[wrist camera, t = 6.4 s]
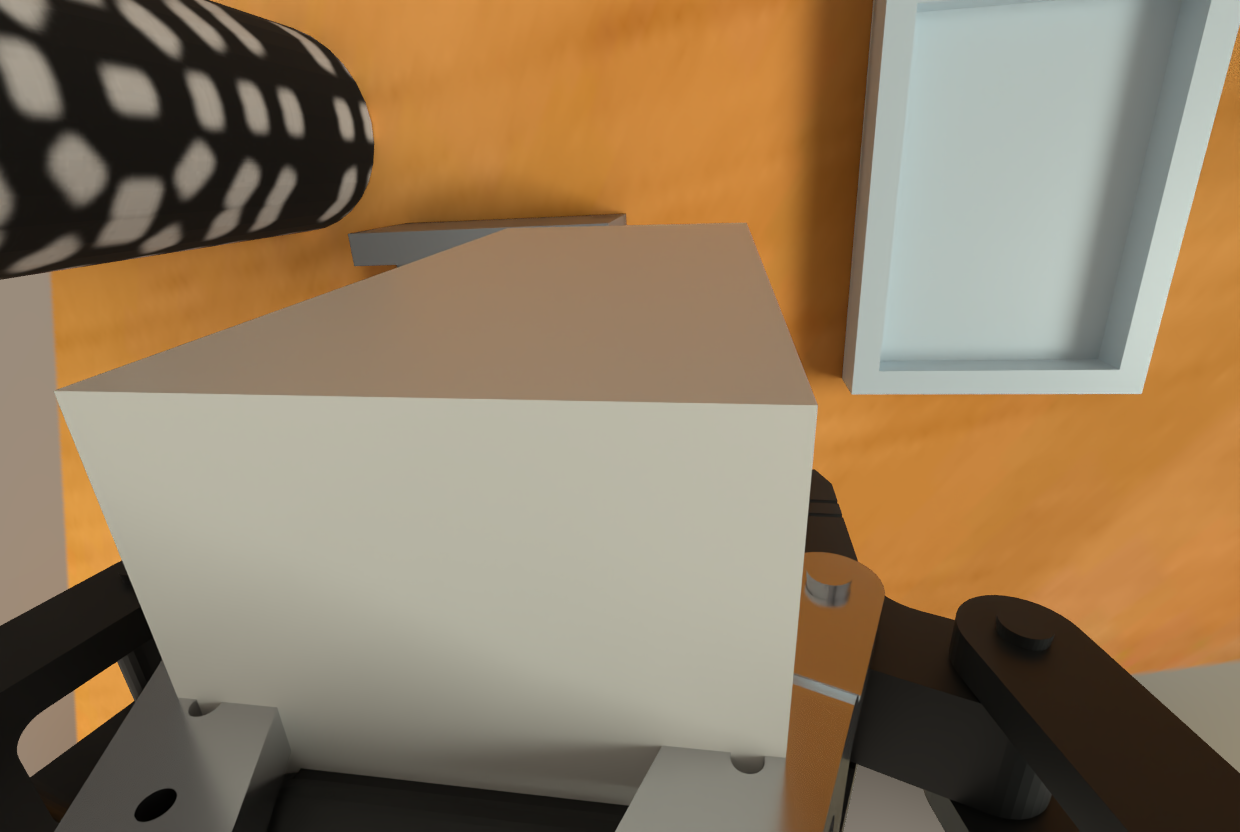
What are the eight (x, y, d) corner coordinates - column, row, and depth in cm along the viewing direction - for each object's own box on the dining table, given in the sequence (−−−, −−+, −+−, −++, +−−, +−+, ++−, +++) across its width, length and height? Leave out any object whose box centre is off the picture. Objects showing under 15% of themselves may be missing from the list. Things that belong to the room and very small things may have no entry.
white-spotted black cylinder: (230, 237, 30) (-548, 351, 11) (170, 37, 27) (-1010, -246, 8) (392, 223, 29) (-188, 325, 10) (348, 11, 26) (-588, -393, 7)
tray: (874, -13, 23) (889, -29, 21) (1213, -43, 21) (1263, -65, 19) (842, 378, 28) (851, 394, 26) (1110, 377, 27) (1141, 393, 25)
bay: (406, 223, 28) (348, 234, 24) (626, 213, 27) (608, 223, 22) (451, 497, 33) (410, 549, 29) (638, 501, 32) (626, 557, 27)
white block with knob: (507, 228, 13) (-127, 455, 3) (746, 222, 13) (854, 493, 3) (542, 576, 17) (281, 1205, 7) (732, 588, 16) (753, 1312, 6)
